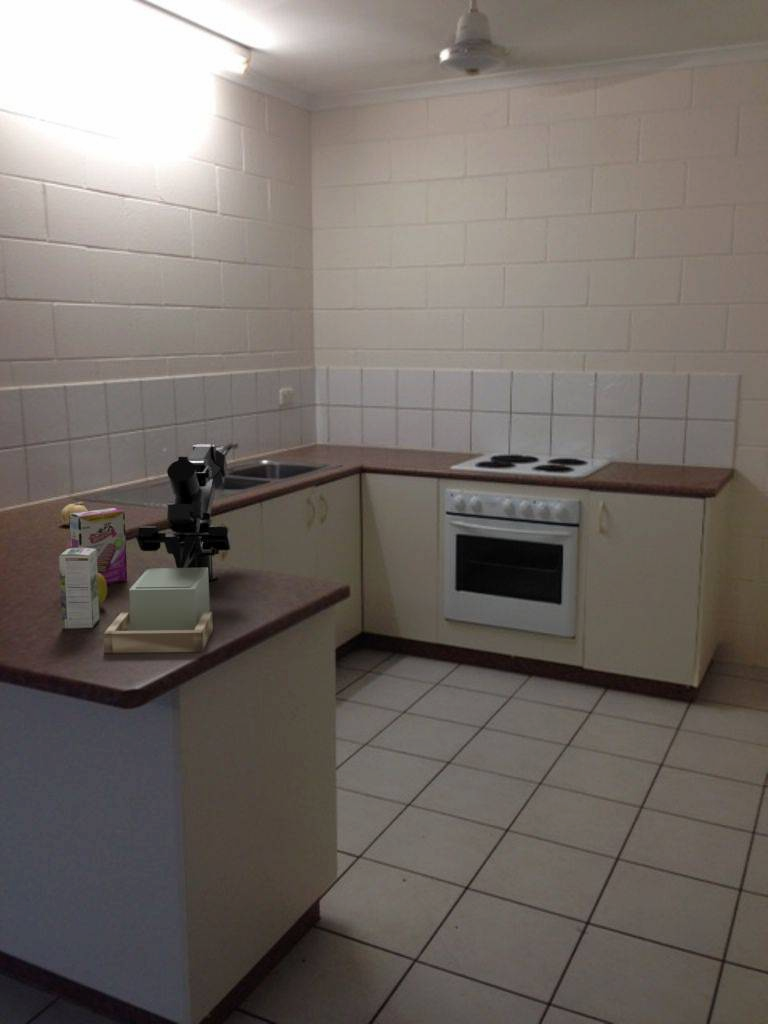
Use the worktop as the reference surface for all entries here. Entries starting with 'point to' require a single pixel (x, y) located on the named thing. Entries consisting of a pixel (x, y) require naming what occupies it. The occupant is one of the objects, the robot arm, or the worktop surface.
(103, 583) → the lemon
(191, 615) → the tub
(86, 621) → the syrup box
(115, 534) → the candy bar box
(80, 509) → the onion
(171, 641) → the wooden tray
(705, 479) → the worktop surface
